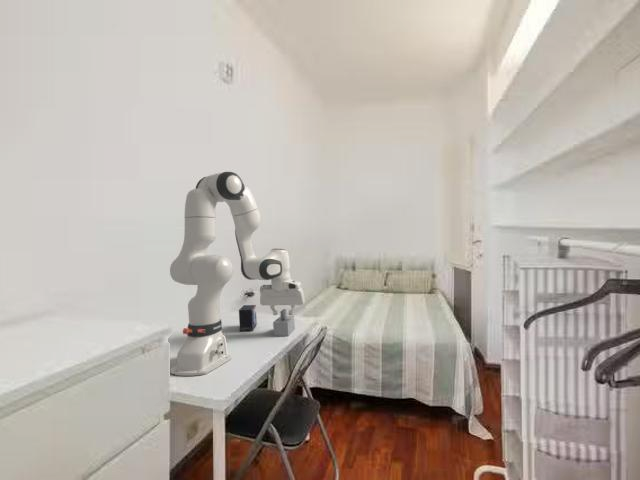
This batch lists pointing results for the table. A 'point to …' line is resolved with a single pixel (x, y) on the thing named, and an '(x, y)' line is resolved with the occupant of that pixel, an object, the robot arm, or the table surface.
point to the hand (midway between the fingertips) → (283, 314)
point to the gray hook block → (284, 324)
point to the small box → (247, 318)
